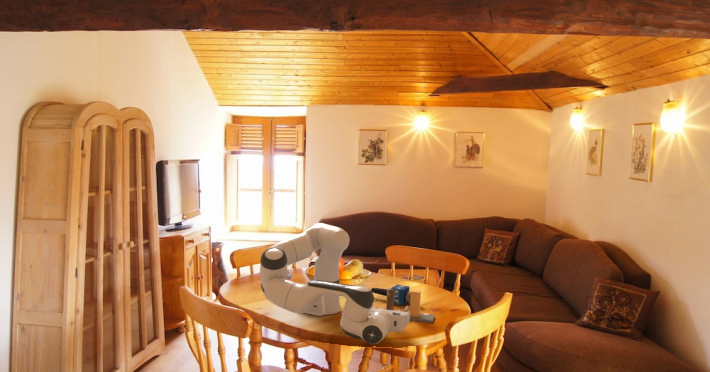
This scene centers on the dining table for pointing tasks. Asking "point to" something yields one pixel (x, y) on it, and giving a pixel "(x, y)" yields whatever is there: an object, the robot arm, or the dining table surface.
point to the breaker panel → (421, 317)
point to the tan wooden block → (415, 303)
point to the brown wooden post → (390, 299)
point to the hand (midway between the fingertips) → (387, 310)
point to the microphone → (396, 294)
